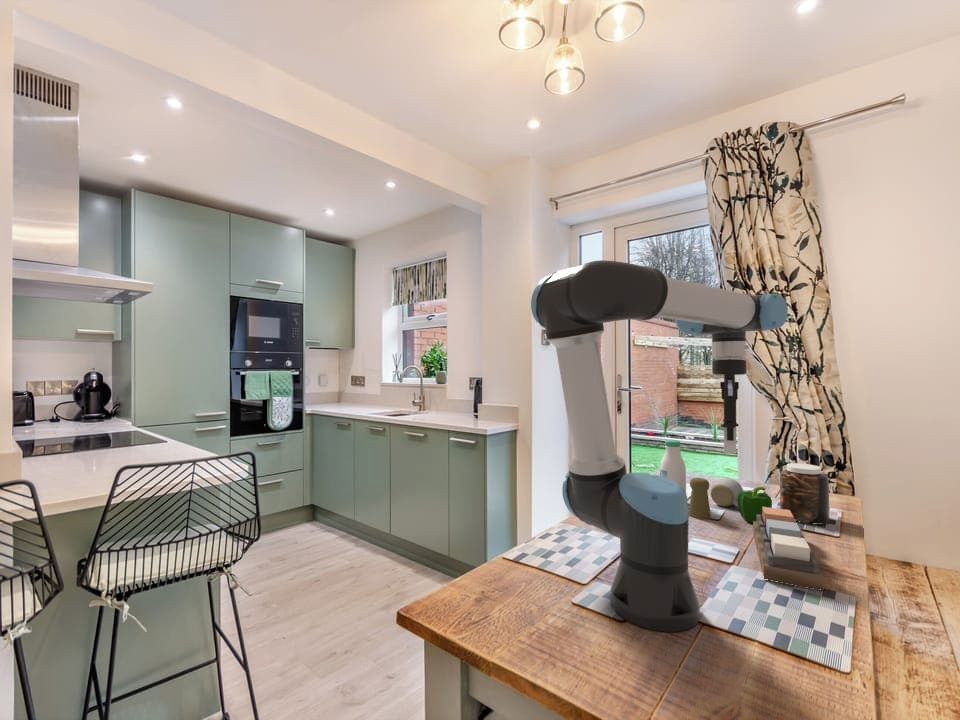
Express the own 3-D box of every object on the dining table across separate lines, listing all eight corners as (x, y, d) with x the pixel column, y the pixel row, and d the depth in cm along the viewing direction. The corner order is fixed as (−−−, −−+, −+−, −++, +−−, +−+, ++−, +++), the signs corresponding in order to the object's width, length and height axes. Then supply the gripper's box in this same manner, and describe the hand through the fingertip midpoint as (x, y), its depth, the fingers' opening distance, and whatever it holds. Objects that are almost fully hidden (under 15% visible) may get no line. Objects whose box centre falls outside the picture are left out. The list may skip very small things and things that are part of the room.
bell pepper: (733, 521, 128) (733, 486, 129) (742, 514, 134) (742, 480, 134) (768, 528, 123) (767, 492, 123) (775, 521, 128) (775, 486, 128)
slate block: (801, 544, 100) (800, 531, 100) (769, 540, 103) (769, 526, 103) (796, 535, 106) (796, 522, 106) (766, 531, 108) (766, 518, 108)
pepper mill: (706, 512, 136) (706, 476, 136) (714, 519, 130) (714, 481, 130) (685, 512, 136) (685, 475, 136) (692, 519, 130) (692, 480, 130)
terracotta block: (793, 529, 110) (793, 517, 110) (764, 525, 112) (764, 513, 112) (790, 521, 115) (789, 510, 115) (762, 518, 118) (762, 506, 118)
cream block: (809, 563, 91) (809, 548, 91) (774, 557, 94) (774, 543, 94) (804, 552, 96) (804, 538, 96) (771, 547, 99) (771, 533, 99)
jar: (832, 528, 123) (831, 472, 123) (780, 520, 129) (780, 467, 129) (826, 515, 133) (826, 464, 133) (779, 509, 139) (778, 460, 140)
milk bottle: (687, 501, 147) (687, 440, 147) (684, 508, 140) (683, 443, 141) (662, 497, 151) (662, 438, 151) (658, 504, 144) (657, 441, 145)
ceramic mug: (708, 504, 144) (709, 480, 144) (718, 499, 149) (718, 476, 149) (745, 513, 136) (745, 487, 136) (754, 507, 142) (754, 482, 142)
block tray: (823, 591, 89) (823, 565, 89) (764, 580, 93) (763, 555, 93) (798, 538, 115) (798, 519, 115) (753, 532, 120) (752, 513, 120)
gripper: (748, 358, 106) (749, 459, 106) (744, 358, 117) (745, 449, 117) (712, 359, 109) (713, 456, 109) (712, 359, 121) (713, 447, 121)
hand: (730, 452), depth 113 cm, fingers closed
